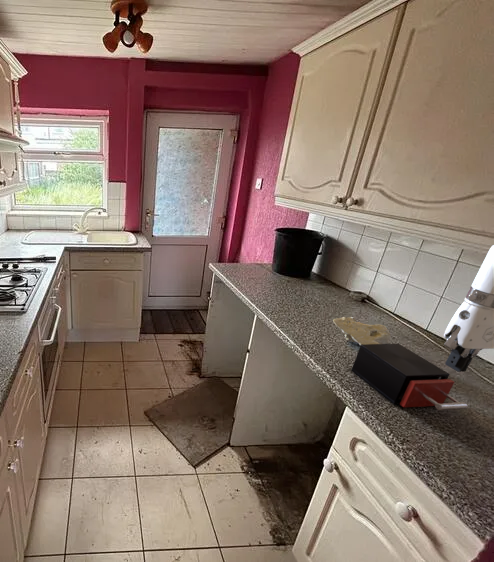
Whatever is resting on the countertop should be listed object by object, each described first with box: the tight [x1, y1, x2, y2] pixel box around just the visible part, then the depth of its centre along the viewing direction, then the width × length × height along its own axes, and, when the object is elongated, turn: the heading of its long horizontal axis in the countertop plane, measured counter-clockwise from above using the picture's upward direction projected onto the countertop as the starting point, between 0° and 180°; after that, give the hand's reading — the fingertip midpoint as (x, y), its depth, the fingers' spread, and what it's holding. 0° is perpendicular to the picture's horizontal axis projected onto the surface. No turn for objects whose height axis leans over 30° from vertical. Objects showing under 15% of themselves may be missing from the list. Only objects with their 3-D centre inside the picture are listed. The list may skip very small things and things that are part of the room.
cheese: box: [332, 316, 391, 346], centre depth 110 cm, size 15×7×15 cm
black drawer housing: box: [351, 343, 450, 406], centre depth 89 cm, size 15×13×10 cm
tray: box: [398, 377, 469, 411], centre depth 84 cm, size 19×11×8 cm, turn 5°
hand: (454, 367), depth 75 cm, fingers closed
